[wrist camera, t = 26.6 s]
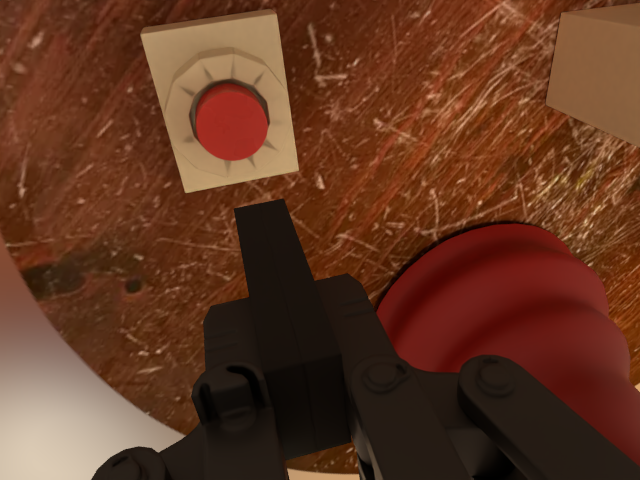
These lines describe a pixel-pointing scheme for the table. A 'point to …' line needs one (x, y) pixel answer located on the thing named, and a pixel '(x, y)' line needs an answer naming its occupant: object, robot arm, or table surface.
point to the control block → (214, 69)
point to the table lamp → (518, 321)
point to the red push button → (230, 122)
